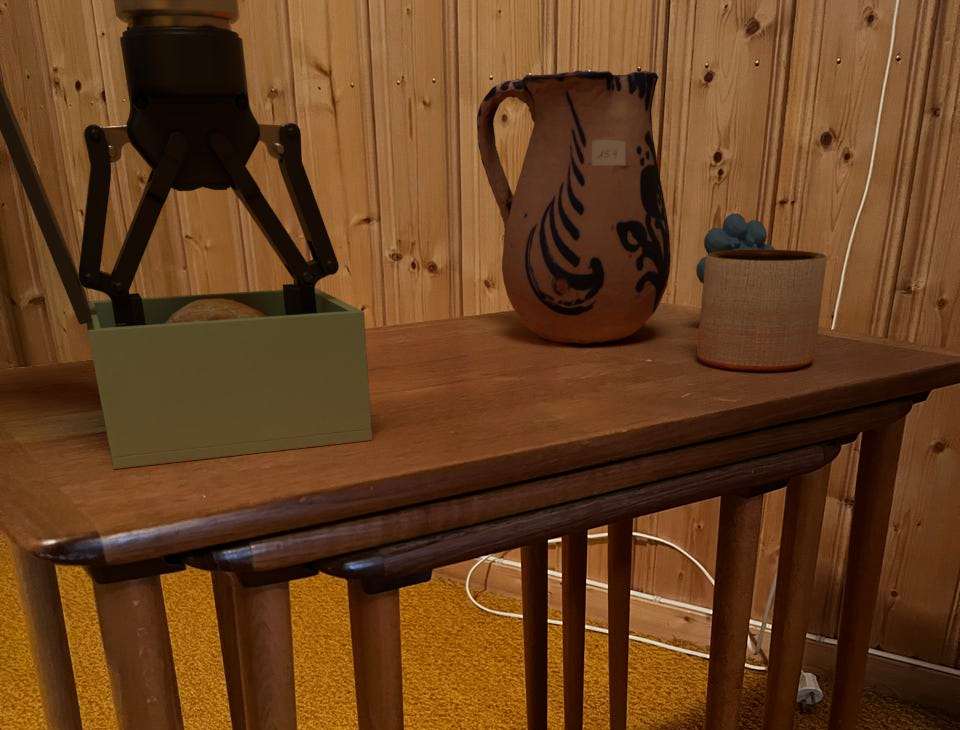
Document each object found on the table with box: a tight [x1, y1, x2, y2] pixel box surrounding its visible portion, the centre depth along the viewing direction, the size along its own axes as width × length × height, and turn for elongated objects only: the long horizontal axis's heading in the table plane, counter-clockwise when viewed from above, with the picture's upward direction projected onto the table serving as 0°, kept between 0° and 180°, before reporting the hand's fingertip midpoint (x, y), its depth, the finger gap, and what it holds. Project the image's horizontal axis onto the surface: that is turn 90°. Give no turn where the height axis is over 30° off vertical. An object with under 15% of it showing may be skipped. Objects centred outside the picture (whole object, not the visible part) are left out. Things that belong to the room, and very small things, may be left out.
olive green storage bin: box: [85, 287, 373, 470], centre depth 71 cm, size 18×15×9 cm
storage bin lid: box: [0, 77, 92, 325], centre depth 61 cm, size 18×15×1 cm
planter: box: [696, 249, 828, 373], centre depth 91 cm, size 11×11×10 cm
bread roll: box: [165, 298, 267, 324], centre depth 70 cm, size 10×10×8 cm
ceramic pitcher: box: [476, 70, 672, 345], centre depth 101 cm, size 18×21×25 cm
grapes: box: [696, 212, 776, 285], centre depth 108 cm, size 12×7×12 cm, turn 120°
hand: (227, 384), depth 71 cm, fingers closed on bread roll, 10 cm apart
